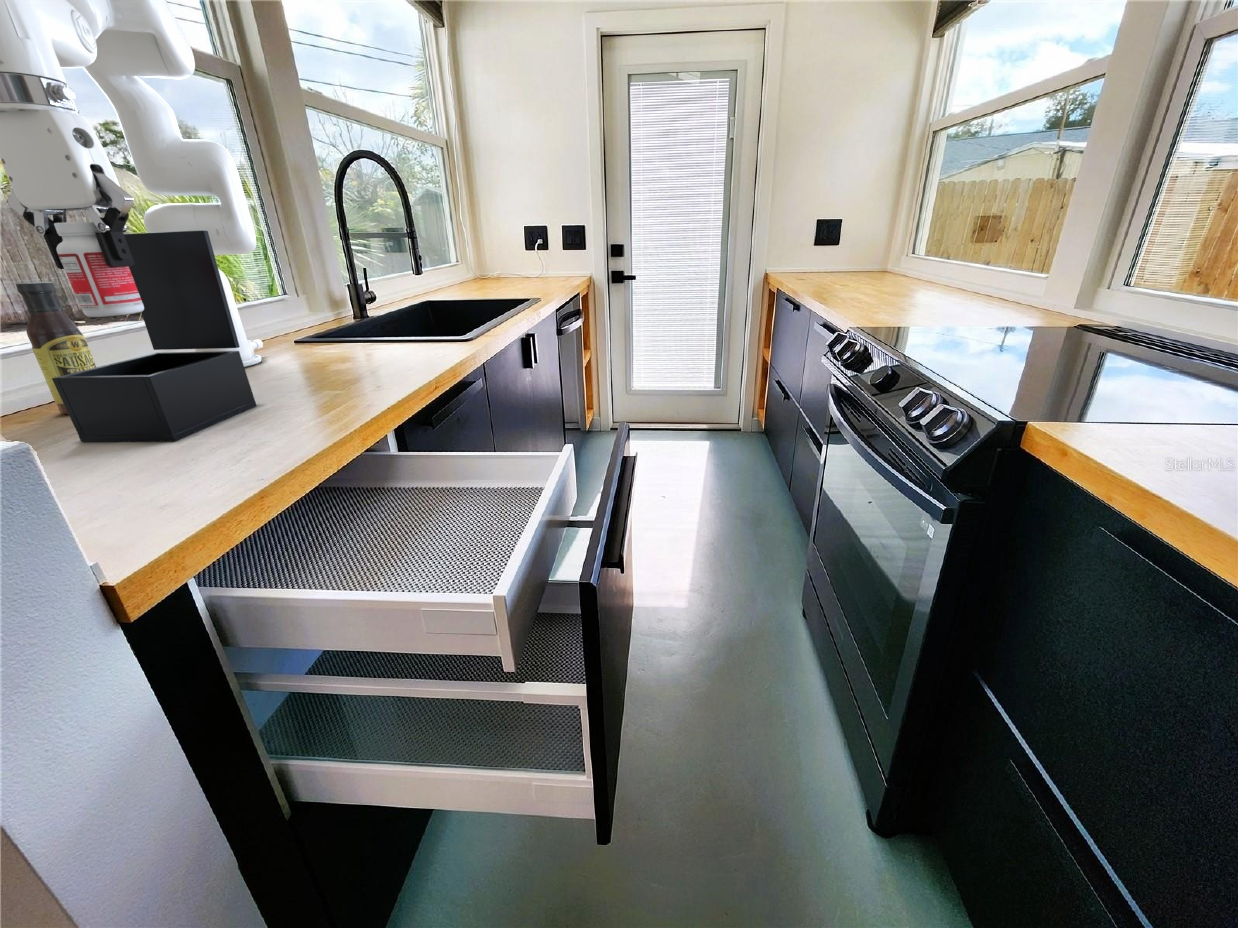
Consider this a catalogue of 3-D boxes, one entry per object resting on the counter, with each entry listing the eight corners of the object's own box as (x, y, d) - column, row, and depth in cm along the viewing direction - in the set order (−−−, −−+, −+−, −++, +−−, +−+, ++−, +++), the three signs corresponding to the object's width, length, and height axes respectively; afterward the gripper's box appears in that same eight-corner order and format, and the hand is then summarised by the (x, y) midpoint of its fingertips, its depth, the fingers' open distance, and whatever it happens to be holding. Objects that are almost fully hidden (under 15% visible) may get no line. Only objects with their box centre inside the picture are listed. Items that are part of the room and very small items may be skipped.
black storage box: (175, 441, 72) (149, 376, 68) (81, 442, 73) (51, 378, 69) (256, 405, 86) (239, 350, 82) (177, 406, 87) (156, 352, 84)
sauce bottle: (80, 416, 84) (19, 284, 76) (50, 415, 85) (-13, 284, 77) (123, 404, 90) (71, 280, 82) (94, 403, 91) (40, 280, 83)
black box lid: (203, 230, 76) (231, 232, 81) (114, 234, 77) (147, 236, 82) (236, 348, 82) (260, 343, 87) (153, 350, 83) (181, 345, 88)
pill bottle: (153, 309, 74) (121, 222, 70) (134, 315, 69) (97, 221, 65) (98, 313, 72) (61, 223, 68) (74, 319, 67) (32, 222, 63)
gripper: (129, 103, 64) (183, 263, 71) (-1, 111, 65) (66, 268, 73) (65, 88, 57) (132, 267, 64) (-79, 98, 58) (3, 272, 66)
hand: (96, 266), depth 68 cm, fingers closed on pill bottle, 6 cm apart
